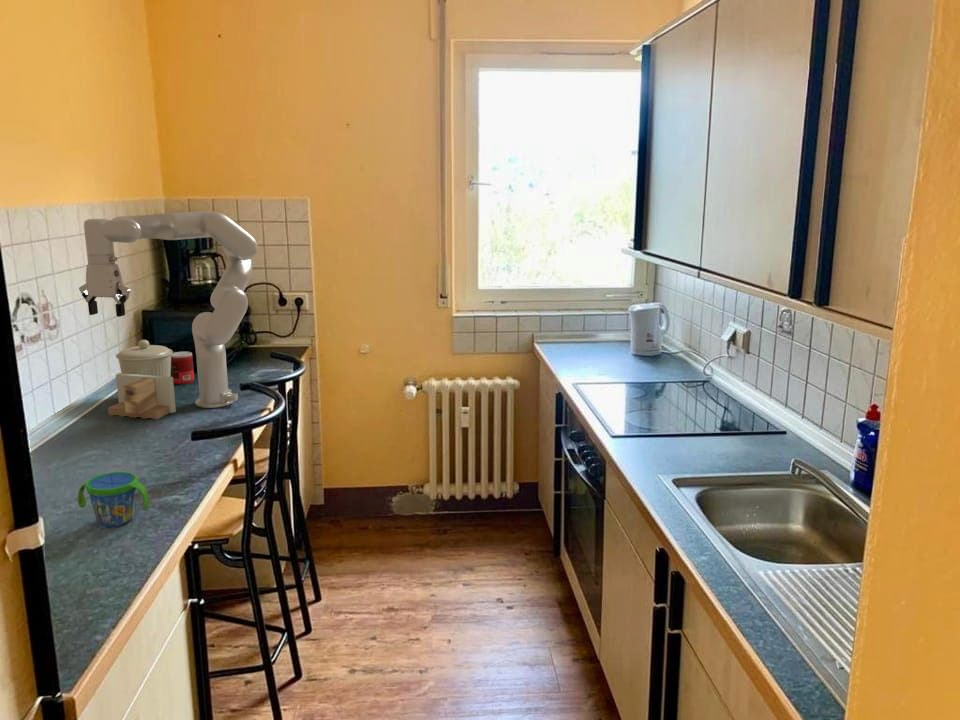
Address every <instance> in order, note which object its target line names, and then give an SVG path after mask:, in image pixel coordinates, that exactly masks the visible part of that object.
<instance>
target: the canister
mask: <svg viewBox="0 0 960 720" xmlns="http://www.w3.org/2000/svg"><path fill="white" fill-rule="evenodd" d="M137 345H138V346H137ZM137 345H136V346H132V347H127V348H124V349H122V350H120V352H118V353H116V355H115V357H116V359H118V363H119V367H120V368H119V369H120V373H126V374H139V375H152V376H165V377H171V376H172V372H171V354H172V353H174V351H173V349H171V348H168V347H167V346H164V345H158V344H157V345H155V344H150V342H149V340H147V339H141V340H139V341H138V344H137Z"/></svg>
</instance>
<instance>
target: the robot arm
mask: <svg viewBox="0 0 960 720" xmlns="http://www.w3.org/2000/svg"><path fill="white" fill-rule="evenodd" d="M83 231H84V240H85V249H86V256H87V264H86V266H85V267H86V268H85V270H86V271H85V283H84V284H82V285H81V286H79V287H78V289H79V292H80V294H81V296H82V297H83V298H84V300H85V302H86V303H87V307H88V308H87V309H88V315H89V316H93V315H96V314H98V313H99V309H98V302H97V300H96V299H97V298H112V299H114V301H115V302H116V303H115V305H114V306H115V312H116V313H115V315H116V317H117V318H118V317H119V318H120V317H123V316H126V307H125V304H126V302H127V300H129V296H130V294H131V289H130V288H128V287H127V286H125V285H124V281H123V277H122V273H121V269H120V266H119V264H118V263H116V262H117V261H118V257H117V256H115V246H114V243H121V244H122V243H124V244H130V243H134V242H136V241H138V240H141V239H142V240H143V239H145V240H146V239H158V240H166V241H178V240H191V239H202V238H213V239H214V240H215V241H216V242H217V243H219V244H220V245H221V246H222V249H223V252H224V253H225V256H226V267H225V269H224V271H223V274H222V275H221V277H220V279H219V281H218V282H217V283H216V286H215V288H214V289H213V292H211V296H210V297H209V299H210V305H211V306H212V308H214V310H213V311H212V312H210V311H204V312H200V313H199V314H197V315H196V317H195V318H194V319H193V321H192V325H191V332H192V336H193V337H192V338H193V342H194V347H195V355H196V356H195V357H196V367H197V368H196V369H197V381H198V390H199V391H198V393H199V394H198V395H199V397H198V398H197V399H196V400H195V402H194V403H195V406H196V407H199V408H204V409H205V408H206V409H213V408H222V407H227V406H229V405H231V404H233V403H234V401H238V399H239V393H233V392H232V389H231V388H229V381H228V380H229V379H228V367H227V353H226V347H225V346H226V345H225V344H226V343H228V342H229V341H230V340H231V339H232V337H233V335H234V334H235V332H236V331H237V329H238V327H239V326H240V324H241V322H242V320H243V318H244V316H245V314H246V313H247V310H248V307H249V299H248V295H247V294H246V293H245V290H246V288H247V286H248V284H249V281H250V280H251V277H252V275H253V268H254V267H253V260H252V259H254V258H255V257H256V255H257V254H258V251H259V246H258V242H257V240H256V239H255V237H253V236H252V235H251V234H250V233H248V231H246V230H245V229H243V228H242V227H241V226H240V225H238V224H237V223H236V222H235V221H234V220H232V219H231V218H229V217H228V216H227V215H226V214H224V213H222V212H219V211H212V210H202V211H201V210H200V211H187V212H184V211H183V212H166V213H158V214H142V215H141V214H140V215H124V216H120V215H119V216H116V217H113V218H112V219H111V220H109V219H107V218H89V219H86V220H84V222H83Z"/></svg>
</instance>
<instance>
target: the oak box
mask: <svg viewBox="0 0 960 720" xmlns="http://www.w3.org/2000/svg"><path fill="white" fill-rule="evenodd" d="M123 394H124V403H125V412H127V413H138V414H139V413H141V412H144V411H146V410H148V409H150V408H152V407H154V406H157V402H156V392H155V382H154V379H146V378H140V379H137V380H135V381H132V382H130V383H127V384H125V385H123Z"/></svg>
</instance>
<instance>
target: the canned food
mask: <svg viewBox="0 0 960 720" xmlns="http://www.w3.org/2000/svg"><path fill="white" fill-rule="evenodd" d="M193 360H194V359H193V353H192V352H191V351H178V352H177V351H175V352H173V353H172V354H171V377H173V384H174V385H178V384H182V385H188V383H189V384H192V383H193V382H194V381H195V371H194V361H193Z"/></svg>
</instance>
